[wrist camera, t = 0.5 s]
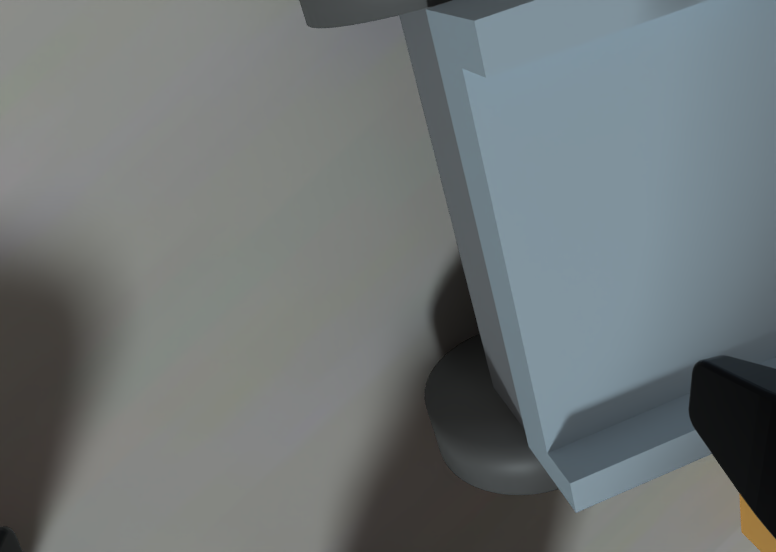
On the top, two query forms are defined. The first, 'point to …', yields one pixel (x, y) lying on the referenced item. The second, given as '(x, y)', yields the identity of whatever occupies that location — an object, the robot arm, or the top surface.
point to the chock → (755, 529)
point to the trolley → (593, 224)
